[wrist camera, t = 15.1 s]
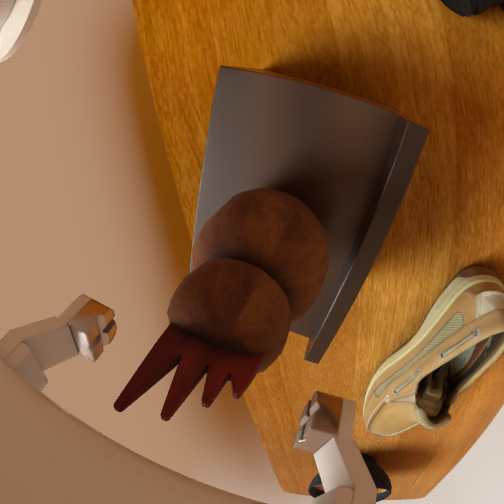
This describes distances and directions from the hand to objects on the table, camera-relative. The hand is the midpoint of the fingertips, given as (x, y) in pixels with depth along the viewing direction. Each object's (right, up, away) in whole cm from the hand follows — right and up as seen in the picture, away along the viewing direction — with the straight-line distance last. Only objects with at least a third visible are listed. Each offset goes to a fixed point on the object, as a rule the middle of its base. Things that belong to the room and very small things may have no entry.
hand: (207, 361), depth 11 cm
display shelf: (+6, +10, +17) cm, 21 cm away
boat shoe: (+23, -9, +23) cm, 34 cm away
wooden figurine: (+4, +6, +10) cm, 12 cm away
